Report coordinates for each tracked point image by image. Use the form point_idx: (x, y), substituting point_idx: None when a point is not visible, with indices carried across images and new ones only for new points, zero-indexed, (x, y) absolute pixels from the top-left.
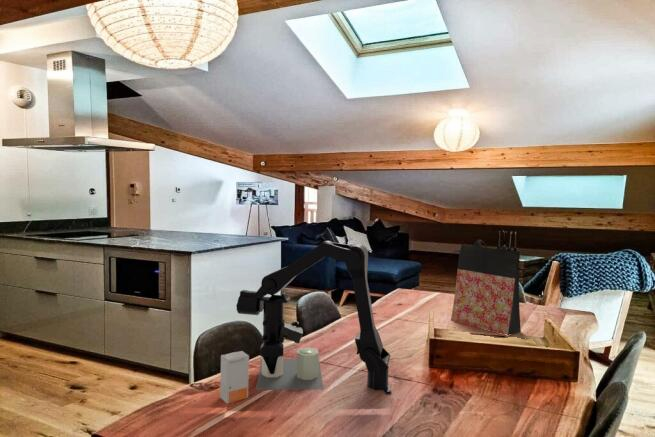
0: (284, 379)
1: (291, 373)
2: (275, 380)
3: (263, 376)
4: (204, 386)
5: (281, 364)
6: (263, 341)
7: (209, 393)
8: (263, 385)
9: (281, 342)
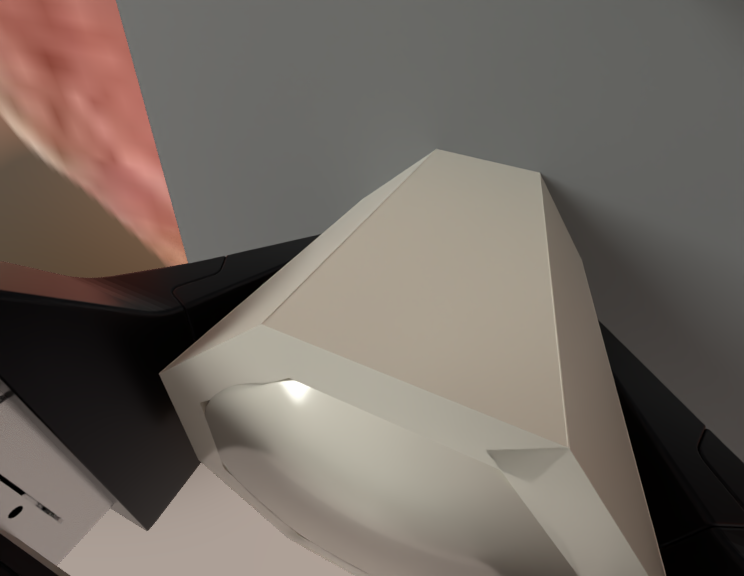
0: (727, 188)
1: (554, 35)
2: (669, 291)
3: None
4: None
5: (559, 257)
6: (141, 527)
7: None
8: (720, 413)
9: (9, 332)
